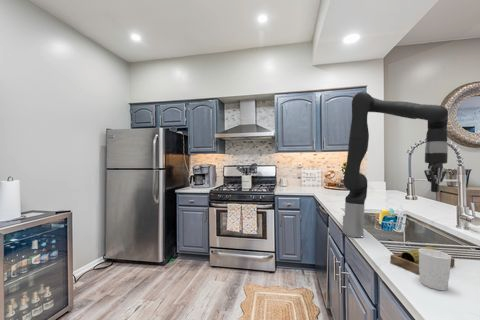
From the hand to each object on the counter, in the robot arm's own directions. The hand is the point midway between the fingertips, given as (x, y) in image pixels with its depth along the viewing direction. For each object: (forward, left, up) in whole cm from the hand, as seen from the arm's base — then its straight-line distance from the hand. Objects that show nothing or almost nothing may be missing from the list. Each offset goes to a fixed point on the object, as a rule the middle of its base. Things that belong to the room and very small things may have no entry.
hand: (434, 191), depth 99 cm
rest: (+5, -18, -27) cm, 33 cm away
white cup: (+15, -32, -27) cm, 45 cm away
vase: (+5, -12, -24) cm, 27 cm away
